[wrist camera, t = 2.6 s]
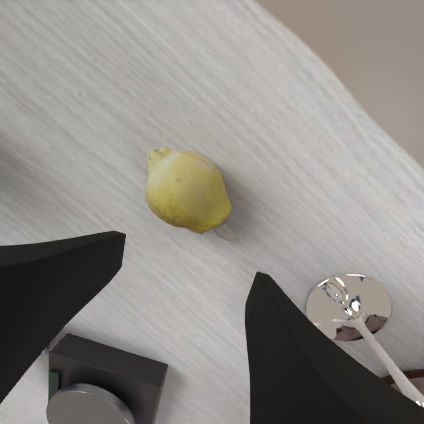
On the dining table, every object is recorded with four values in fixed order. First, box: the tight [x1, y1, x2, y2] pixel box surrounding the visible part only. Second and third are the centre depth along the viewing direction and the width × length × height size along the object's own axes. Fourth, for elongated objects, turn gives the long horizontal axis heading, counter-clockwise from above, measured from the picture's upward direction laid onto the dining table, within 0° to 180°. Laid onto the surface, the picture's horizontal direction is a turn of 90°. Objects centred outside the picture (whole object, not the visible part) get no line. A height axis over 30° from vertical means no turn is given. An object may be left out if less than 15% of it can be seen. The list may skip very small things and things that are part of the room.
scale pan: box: [46, 383, 135, 424], centre depth 22 cm, size 10×10×1 cm
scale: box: [48, 334, 168, 424], centre depth 24 cm, size 13×12×3 cm
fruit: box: [145, 147, 237, 243], centre depth 16 cm, size 6×6×10 cm
